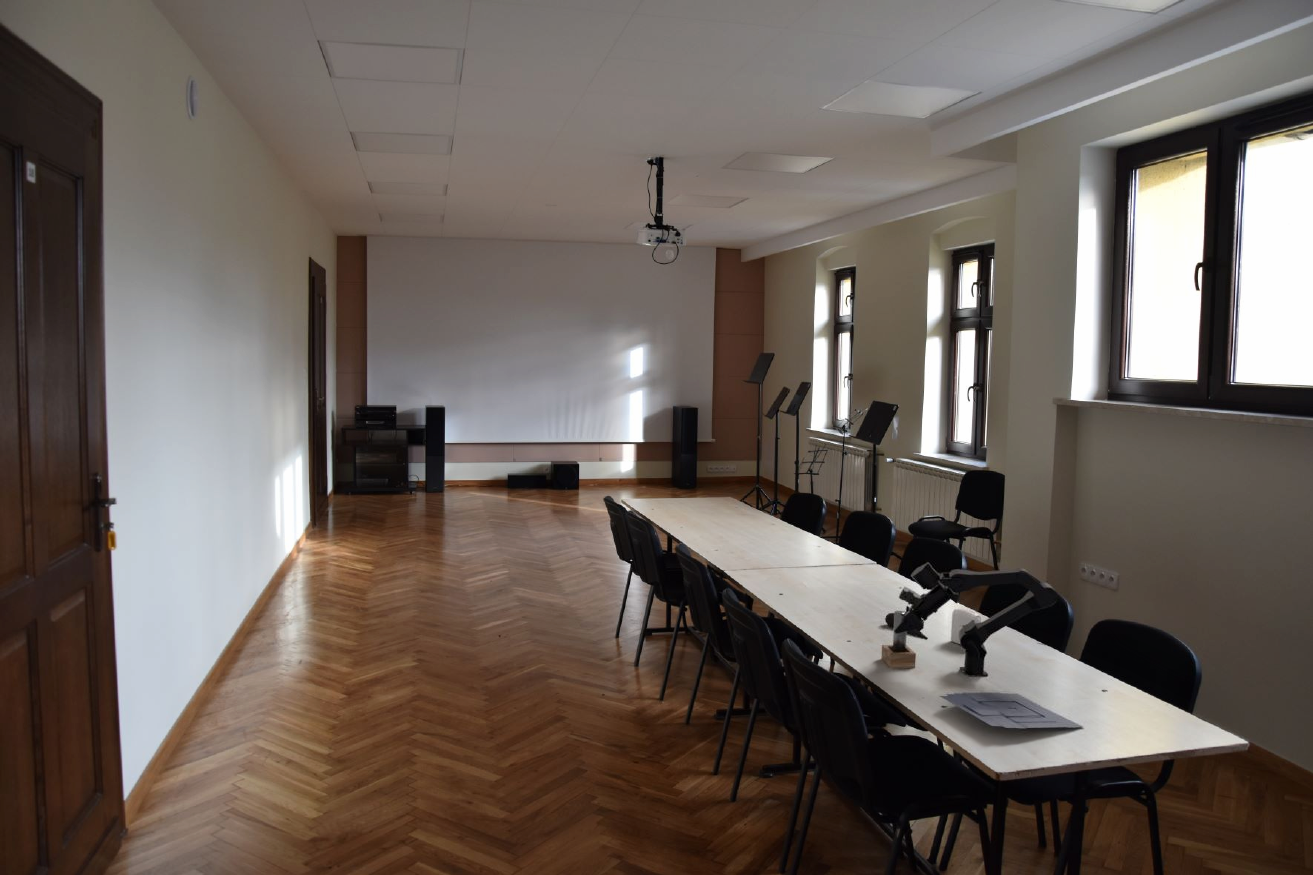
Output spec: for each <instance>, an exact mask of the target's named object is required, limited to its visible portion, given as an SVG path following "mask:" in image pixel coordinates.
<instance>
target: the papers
mask: <svg viewBox="0 0 1313 875" xmlns="http://www.w3.org/2000/svg"><path fill="white" fill-rule="evenodd" d="M939 697H940V698H942V699H944V700H946V701H947V702H948V703H951V704H952V705H954V706H956V707H958V708H960V709H961V710H963V711H965V712H967V713H968V714H969V715H972V716H974V717H975V718H977V719H979V720H981V721H983V722H985V723H986V724H987V725H990V726H992V727H1004V728H1005V729H1007V728H1008V729H1012V728H1013V729H1015V728H1016V729H1029V728H1031V729H1033V728H1035V729H1038V728H1040V729H1041V728H1084V726H1083V725H1081V724H1079V723H1076V722H1075V721H1073V720H1070V719H1069V718H1066V717H1064V716H1062V715H1060V714H1058V713H1056V712H1053V711H1051V710H1050V709H1048V708H1046V707H1044V706H1042V705H1040V704H1037V703H1035V702H1034V701H1032V700H1031V699H1029V698H1026V697H1025V696H1022V695H1020V694H1019V693H1007V692H961V693H960V692H957V693H956V692H953V693H946V694H945V695H939Z"/></svg>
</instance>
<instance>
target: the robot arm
mask: <svg viewBox="0 0 1313 875" xmlns="http://www.w3.org/2000/svg"><path fill="white" fill-rule="evenodd" d="M910 577H912V579H913V580H914V581H915V582H916V583H917V584H918V586H920V587H921V588H922V589H923V590H926V591H928V592H926V593H922V594H921V595H920V593H917V592H916V591H914V590H912V589H910V588H909V587H907V586H904V587H903V588H902V590H901V591H900V593H899V596H898V599H899V600H901V601H904V602H906V603H907V604H908V605H909V606H908V605H906V608H905V614H904V620H903V621H902V622H901V623H900V624H899V626H898V627H897V628H896V629H895V630H894V629H893V632H895V633H896V634H897V633H901V632H906V631H910V630H917V631H918V632H919V631H920V632H922V630H923V629H924V626H925V622H926V621H927V620H928V618H929V617H930V616H931V615H933V614H936V613H937V612H938V610H939V609H940V608H942V607H943V606H944V605H945V604H947V603H948V602H950V600H952V601H953V602H954V603H955V604H958V598H959V596H960V595H959V593H962V592H966V591H970V590H973V589H976V588H978V587H984V586H985V587H986V586H987V587H988V586H1002V585H1012V584H1013V585H1015V584H1020V585H1022V586H1023V587H1025V588H1026V589H1027V590H1028V591H1027V592H1026V593H1025V595H1024V596H1023V597H1022V598H1021V599H1020V600H1017V601H1016V602H1014V603H1012V604H1011V605H1009V606H1007V607H1006V608H1004V609H1002V610H1001V611H998V612H997V613H995V614H993V615H992V616H990V617H989V618H987V619H985V620H983V621H981V623H975V621H974V620H972V621H971V622H969V623H968V624H966V625H962V627H963V628H962V629H961V630H960V631H959V635H958V636H959V640H960V643H961V644H960V645H961V647H962V648H963V649H964V650H965V652H964V664H963V666H959V670H961V671H962V672H963V673H964V674H965V675H967V676H968V677H982V676H983V677H988V676H989V673H987V672H986V671H985V670H984V669H985V657H986V656H987V654H988V652H987V648H986V647H985V642H986V641H987V640H988V638H990V636H991V635H993V634H995V633H996V632H998V631H1000V630H1003V628H1005V627H1008V625H1010V624H1012V623H1014V622H1016V621H1017V620H1019V619H1021V618H1022V617H1024V616H1025V615H1027V614H1029V613H1031V612H1033V611H1039V610H1042V609H1046V608H1049V607H1052V606H1054V604H1056V602H1057V601H1058V594H1057V592H1056V589H1055V588H1053V586H1052V585H1051V584H1050V583H1047V582H1045V581H1044V582H1043V581H1042V582H1041V581H1040V580H1039V579H1038V578H1037V577H1035V576H1034V575H1032V574H1031V573H1029V572H1028V571H1027V570H1026V569H1025V568H1023V567H1021V568H1016V569H1003V570H1002V569H1001V570H991V571H990V570H989V571H974V570H968V569H959V568H957V569H952V570H950V572H937V570H935V569H934V568H933V566H932V565H931V563H930V562H928V561H927V562H926V563H925V564H922V565H920V566H918V567H917V568H916V569H915V570H913V572H912V573H911V575H910ZM954 591H955V592H954ZM906 612H907V613H906Z"/></svg>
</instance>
